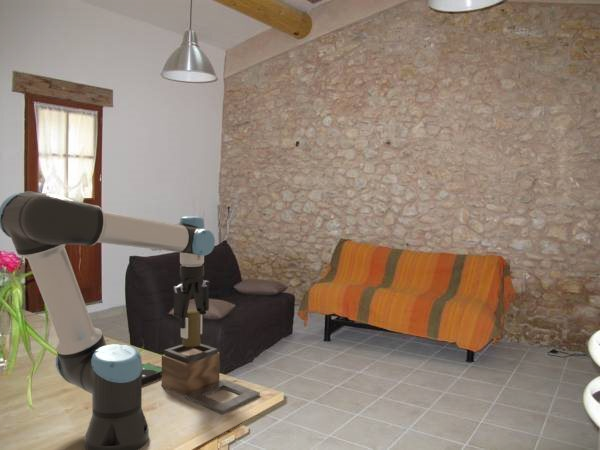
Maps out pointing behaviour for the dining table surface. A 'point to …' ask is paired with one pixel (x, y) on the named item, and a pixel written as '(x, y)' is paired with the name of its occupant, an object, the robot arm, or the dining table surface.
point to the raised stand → (190, 368)
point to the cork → (192, 329)
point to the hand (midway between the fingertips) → (191, 335)
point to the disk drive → (150, 373)
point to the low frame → (222, 408)
